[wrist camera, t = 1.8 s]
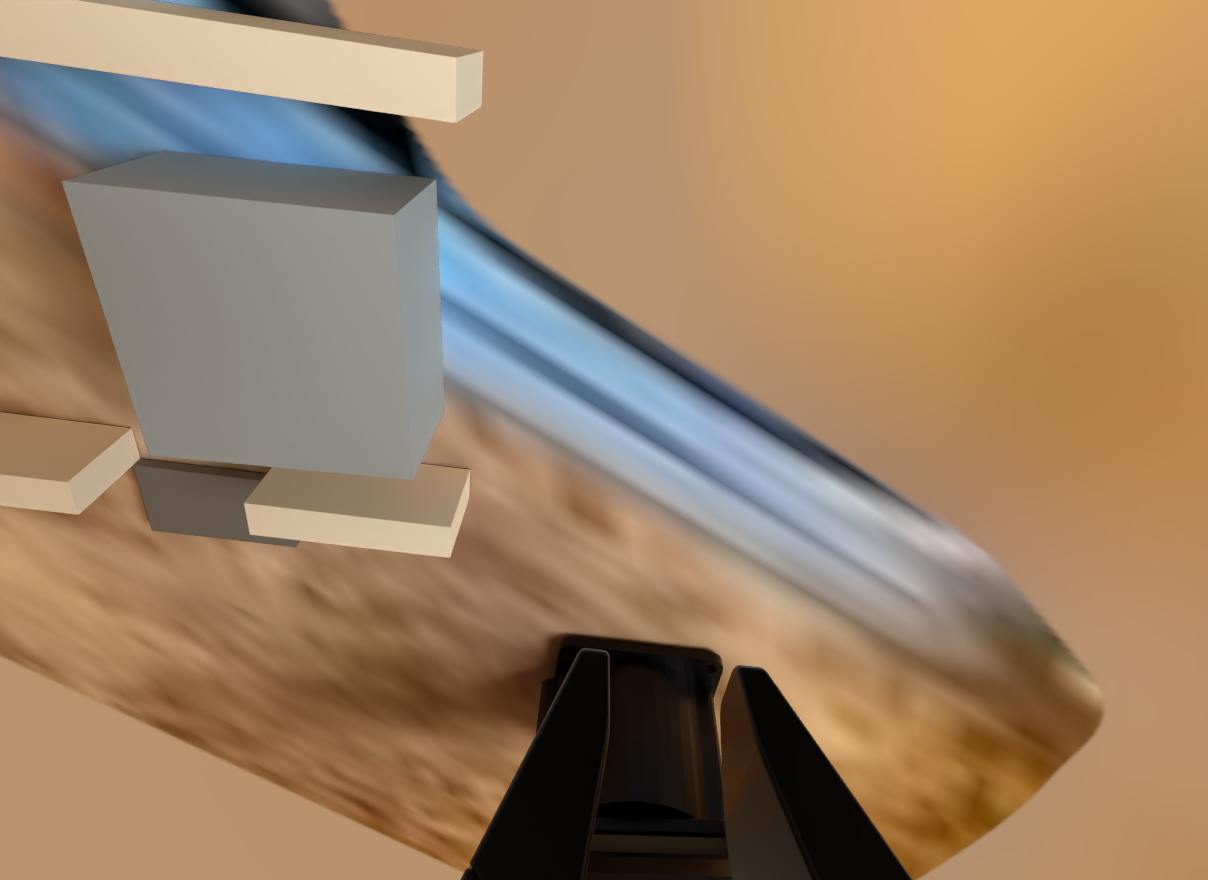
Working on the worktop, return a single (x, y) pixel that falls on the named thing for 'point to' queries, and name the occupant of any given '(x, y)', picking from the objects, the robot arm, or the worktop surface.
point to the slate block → (270, 308)
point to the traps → (199, 500)
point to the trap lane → (268, 67)
